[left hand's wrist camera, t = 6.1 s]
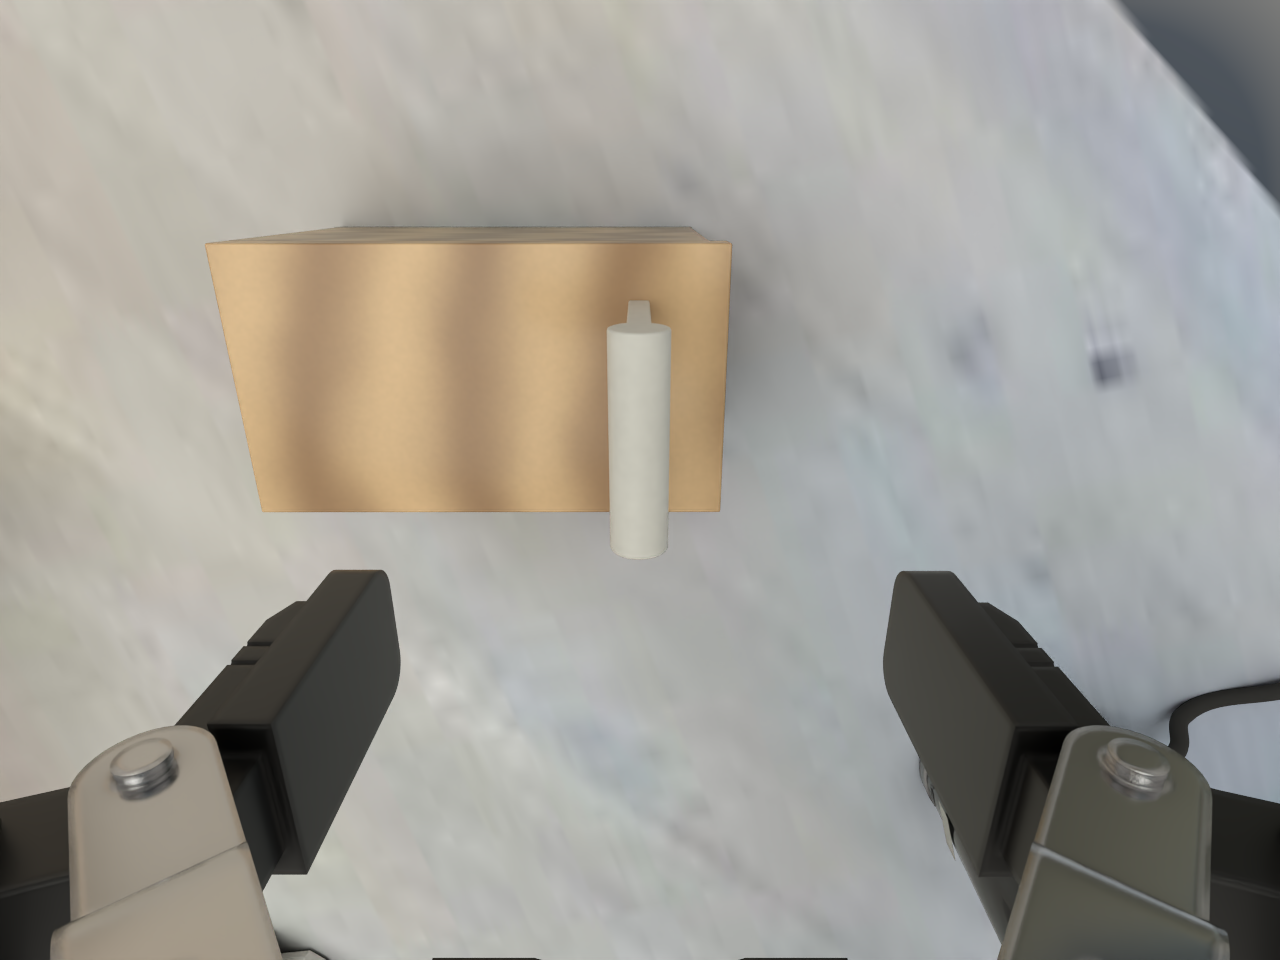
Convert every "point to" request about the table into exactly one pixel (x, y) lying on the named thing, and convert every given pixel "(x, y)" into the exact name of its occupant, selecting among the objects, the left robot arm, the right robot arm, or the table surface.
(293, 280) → the lid
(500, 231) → the chest
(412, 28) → the table surface
